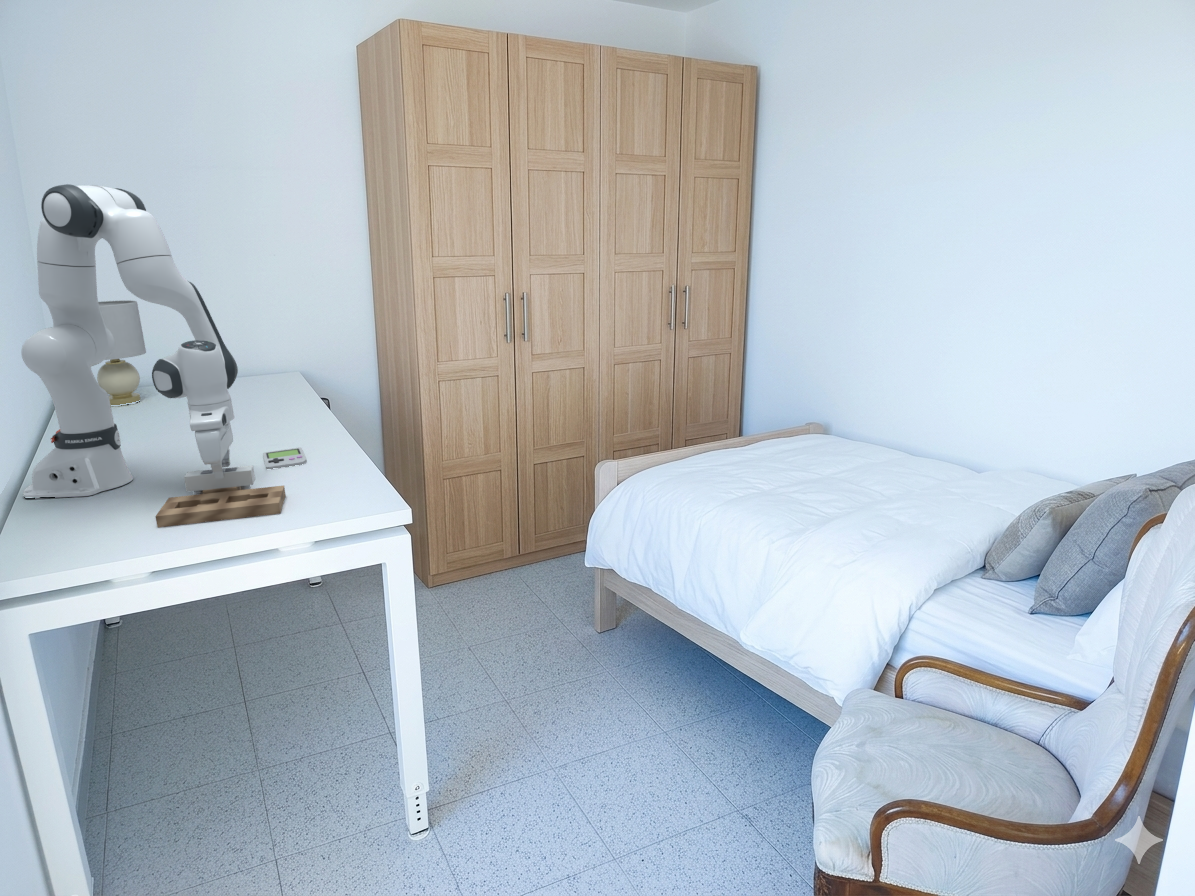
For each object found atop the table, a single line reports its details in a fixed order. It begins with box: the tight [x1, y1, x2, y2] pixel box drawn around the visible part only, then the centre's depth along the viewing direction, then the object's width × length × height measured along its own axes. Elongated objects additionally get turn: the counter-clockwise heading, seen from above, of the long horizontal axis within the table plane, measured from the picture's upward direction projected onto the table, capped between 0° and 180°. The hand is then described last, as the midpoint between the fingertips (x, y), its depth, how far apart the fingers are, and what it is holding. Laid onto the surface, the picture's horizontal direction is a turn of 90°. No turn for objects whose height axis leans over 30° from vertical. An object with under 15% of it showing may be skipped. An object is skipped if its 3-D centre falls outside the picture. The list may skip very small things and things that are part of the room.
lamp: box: [96, 299, 147, 405], centre depth 277 cm, size 20×20×35 cm
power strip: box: [183, 465, 256, 495], centre depth 181 cm, size 14×4×6 cm, turn 106°
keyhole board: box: [154, 485, 287, 528], centre depth 172 cm, size 24×12×2 cm, turn 106°
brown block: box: [203, 486, 241, 494], centre depth 182 cm, size 7×6×2 cm
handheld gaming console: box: [262, 447, 308, 470], centre depth 209 cm, size 10×2×15 cm
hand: (223, 472), depth 181 cm, fingers open, 8 cm apart
